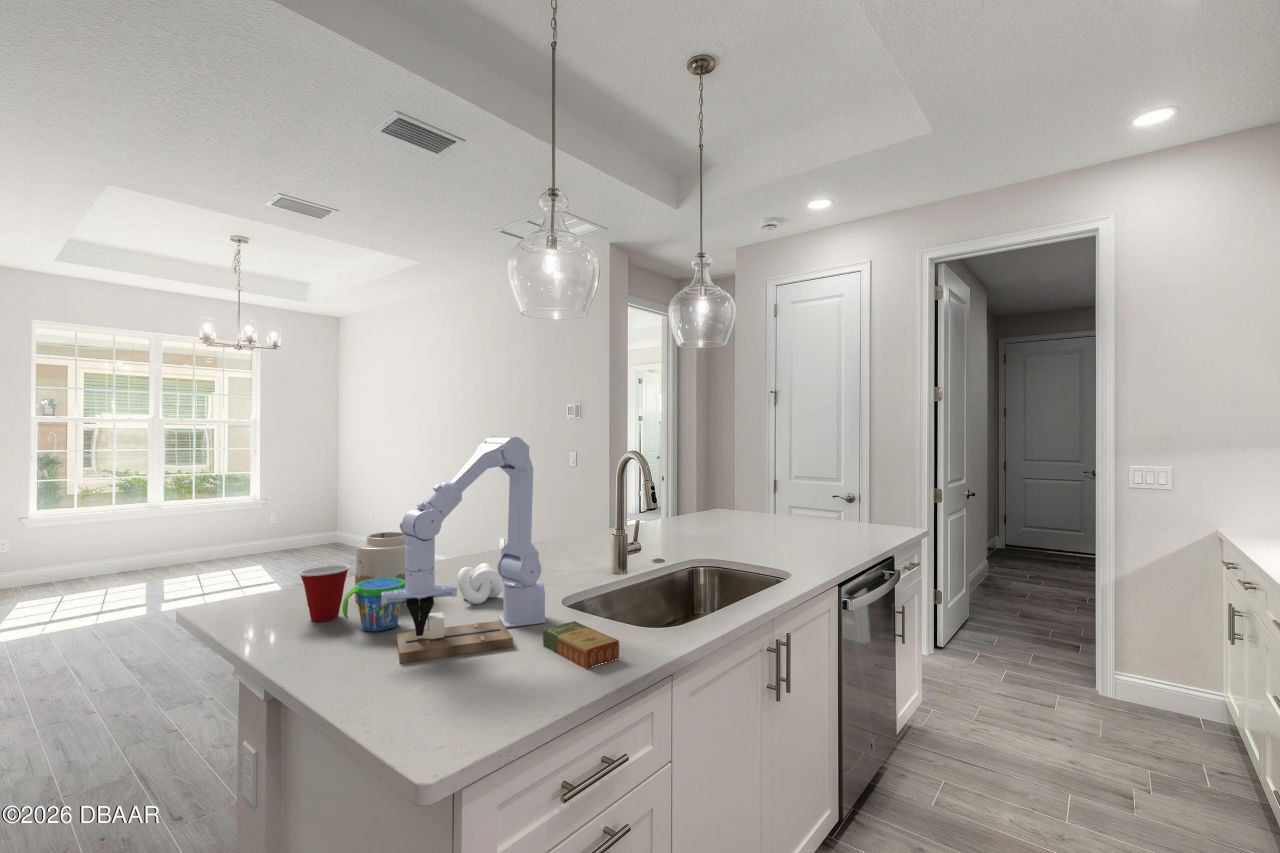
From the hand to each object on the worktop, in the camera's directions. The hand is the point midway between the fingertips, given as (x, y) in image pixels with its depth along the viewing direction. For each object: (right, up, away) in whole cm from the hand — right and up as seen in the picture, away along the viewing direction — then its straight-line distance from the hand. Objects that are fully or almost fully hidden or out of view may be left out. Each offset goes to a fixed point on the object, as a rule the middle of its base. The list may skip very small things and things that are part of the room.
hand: (419, 634), depth 124 cm
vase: (-22, -3, +37) cm, 43 cm away
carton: (+33, -4, 0) cm, 33 cm away
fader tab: (+3, -1, +1) cm, 3 cm away
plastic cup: (-30, -3, +19) cm, 36 cm away
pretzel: (+4, -3, +36) cm, 36 cm away
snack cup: (-14, -3, +13) cm, 20 cm away
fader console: (+6, -3, +3) cm, 8 cm away
